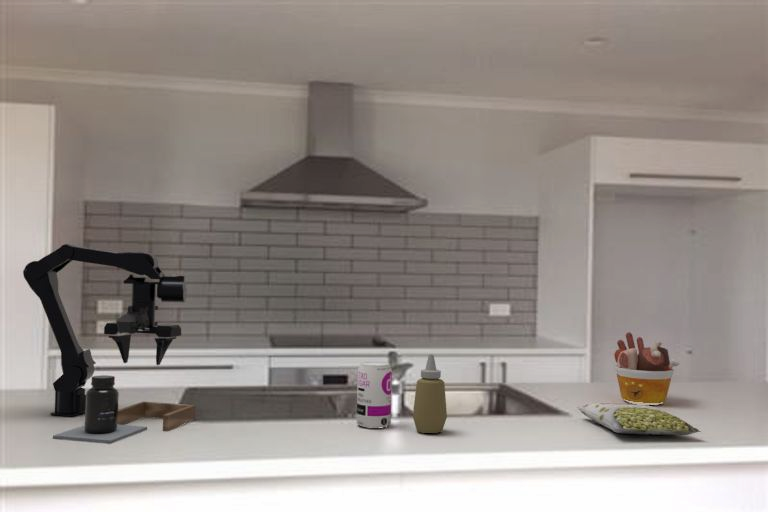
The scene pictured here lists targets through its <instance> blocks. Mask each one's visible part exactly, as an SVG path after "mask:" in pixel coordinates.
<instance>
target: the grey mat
mask: <svg viewBox="0 0 768 512" xmlns="http://www.w3.org/2000/svg"><path fill="white" fill-rule="evenodd" d="M84 427H85V424H84V425H81V426H78V427H76V428H71V429H69V430H66V431H62V432H59V433H57V434H53V435H52V439H56V440H66V441H67V440H68V441H77V442H78V441H81V442H91V443H101V444H113V443H115V442H119V441H121V440H124V439H127V438H128V437H131V436H134V435H137V434H139V433H142V432H145V431H147V430H148V426H142V425H129V424H128V425H127V424H123V425H119V424H117V429H116V431H114V432H111V433H103V434H93V433H87V432H86V431H85V429H84Z"/></svg>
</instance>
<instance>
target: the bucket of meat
mask: <svg viewBox="0 0 768 512" xmlns="http://www.w3.org/2000/svg"><path fill="white" fill-rule="evenodd" d="M625 339H626V343H627V345H626V343H625V341H624V340H622V339H619V340H617V341H616V342H617V343H616V344H617V346H618V349H617V350H615V352H614V354H613V355H614V360H615V362H616V365H614V369H615V372H616V378H617V383H618V387H619V393H620V397H621V398H622V400H623V399H625V400H628V401H633V402H643V403H661V402H664V403H665V402H666V400H667V396H668V393H669V389H670V386H671V381H672V377H673V375H674V369H673V368H674V367H678V366H679V365H680V362H679V361H678V360H676V359H674V358H672V359H670V355H669V350H668V349H667V348H665V347H662V346H661V345H662V342H661V341H655V342H654V343H653V344H652V343H651V345H649V347H645V344H644V340H643V338H642V337H641V336H640V337H637V339H636V344H635V340H634V336H633V334H632V333H631V332H626V334H625ZM635 345H636V346H637V348H638V349H637V348H636V346H635ZM627 347H628V348H627Z"/></svg>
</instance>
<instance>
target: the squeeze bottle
mask: <svg viewBox="0 0 768 512" xmlns="http://www.w3.org/2000/svg"><path fill="white" fill-rule="evenodd" d="M441 373H442V371H441V370H439V369H437V365H436V360H435V356H434V354H428V356H427V360H426V364H425V369H424V368H422V369H421V370H420V377H421V378H418V380H417V381H416V386H415V393H414V403H413V410H412V412H413V413H412V419H413V421H414V425H415V429H416V431H417V432H418V433H420V432H421V433H420V434H424V433H438V432H441V431H442V432H443V429H444V427H445V425H446V420H447V418H448V414H447V413H448V412H447V399H446V398H447V397H446V387H445V386H446V385H445V381H444V380H443V379H441V377H442V376H441V375H442V374H441ZM442 432H441V433H442ZM438 434H439V433H438Z"/></svg>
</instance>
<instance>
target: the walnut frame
mask: <svg viewBox="0 0 768 512" xmlns="http://www.w3.org/2000/svg"><path fill="white" fill-rule="evenodd" d="M142 417H143V418H152V417H155V419H162V431H163V432H168V431H171V430H174V429H177V428H178V426H179V427H180V425H181V426H183V425H182V424H184V423H186V422H188V421H191V420H193V421H195V420H196V405H195V404H182V403H181V404H180V403H169V402H154V401H141V402H138V403H134V404H132V405H128V406H125V407H121V408H118V421H117V424H119V425H127V424H128V423H131V421H132V422H134V420H135V421H137V419H138V420H140V419H142ZM139 418H140V419H139ZM191 422H192V421H191ZM188 423H189V422H188ZM186 424H187V423H186ZM184 425H185V424H184Z"/></svg>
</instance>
